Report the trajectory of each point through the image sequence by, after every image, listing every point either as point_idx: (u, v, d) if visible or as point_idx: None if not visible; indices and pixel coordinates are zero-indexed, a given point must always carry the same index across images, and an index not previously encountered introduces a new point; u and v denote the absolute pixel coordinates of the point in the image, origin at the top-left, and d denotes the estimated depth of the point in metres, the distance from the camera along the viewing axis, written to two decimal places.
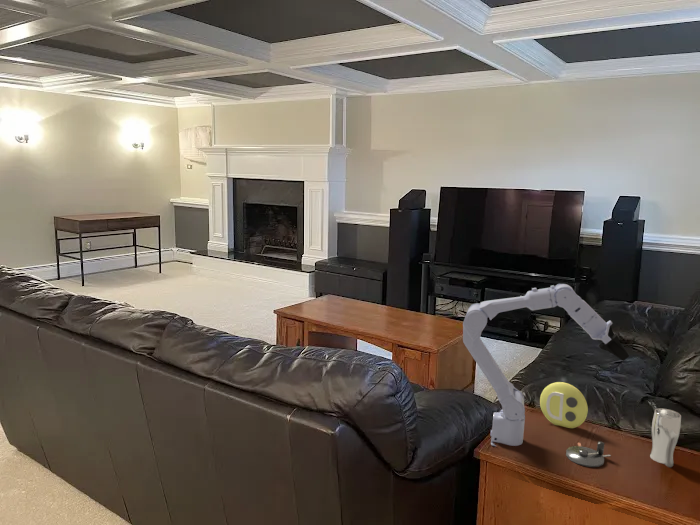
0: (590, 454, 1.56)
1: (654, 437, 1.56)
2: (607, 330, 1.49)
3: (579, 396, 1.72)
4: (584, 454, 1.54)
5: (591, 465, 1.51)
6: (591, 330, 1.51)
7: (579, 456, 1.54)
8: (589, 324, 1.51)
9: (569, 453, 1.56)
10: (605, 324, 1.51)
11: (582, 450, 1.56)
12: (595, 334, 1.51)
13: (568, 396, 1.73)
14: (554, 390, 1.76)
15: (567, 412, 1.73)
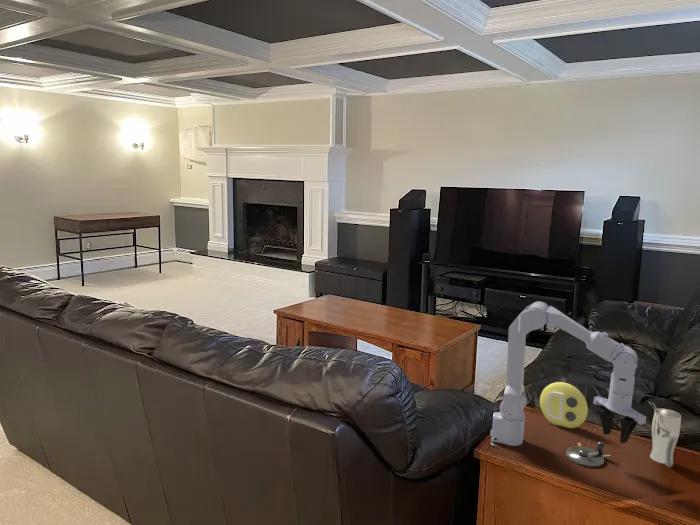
0: (590, 454, 1.56)
1: (654, 437, 1.56)
2: None
3: (579, 396, 1.72)
4: (584, 454, 1.54)
5: (591, 465, 1.51)
6: (625, 404, 1.46)
7: (579, 456, 1.54)
8: (628, 398, 1.46)
9: (569, 453, 1.56)
10: None
11: (582, 450, 1.56)
12: (624, 409, 1.46)
13: (568, 396, 1.73)
14: (554, 390, 1.76)
15: (567, 412, 1.73)
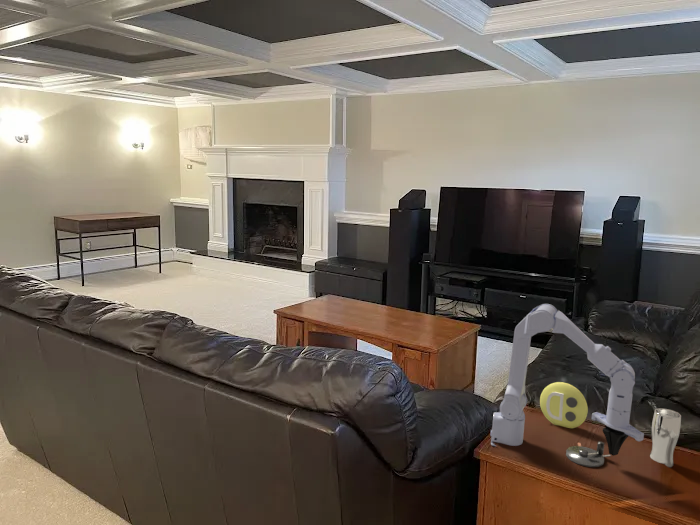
0: (590, 454, 1.56)
1: (654, 437, 1.56)
2: None
3: (579, 396, 1.72)
4: (584, 454, 1.54)
5: (591, 465, 1.51)
6: (623, 421, 1.47)
7: (579, 456, 1.54)
8: (626, 415, 1.47)
9: (569, 453, 1.56)
10: None
11: (582, 450, 1.56)
12: (622, 426, 1.47)
13: (568, 396, 1.73)
14: (554, 390, 1.76)
15: (567, 412, 1.73)
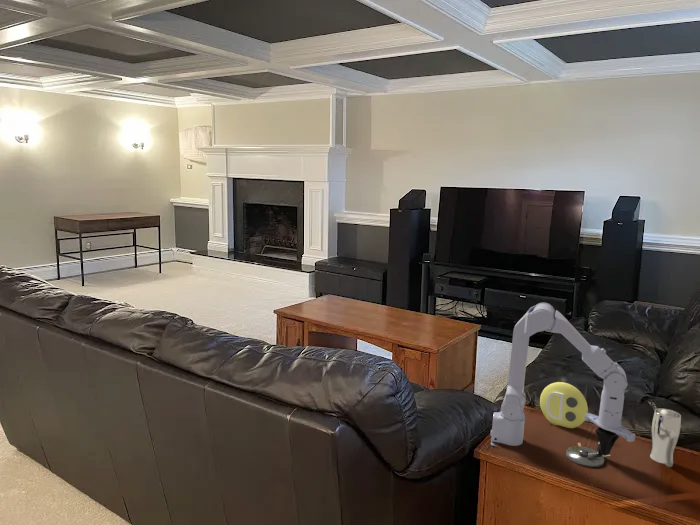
0: (590, 454, 1.56)
1: (654, 437, 1.56)
2: None
3: (579, 396, 1.72)
4: (584, 454, 1.54)
5: (591, 465, 1.51)
6: (615, 422, 1.50)
7: (579, 456, 1.54)
8: (618, 416, 1.50)
9: (569, 453, 1.56)
10: None
11: (582, 450, 1.56)
12: (614, 427, 1.50)
13: (568, 396, 1.73)
14: (554, 390, 1.76)
15: (567, 412, 1.73)
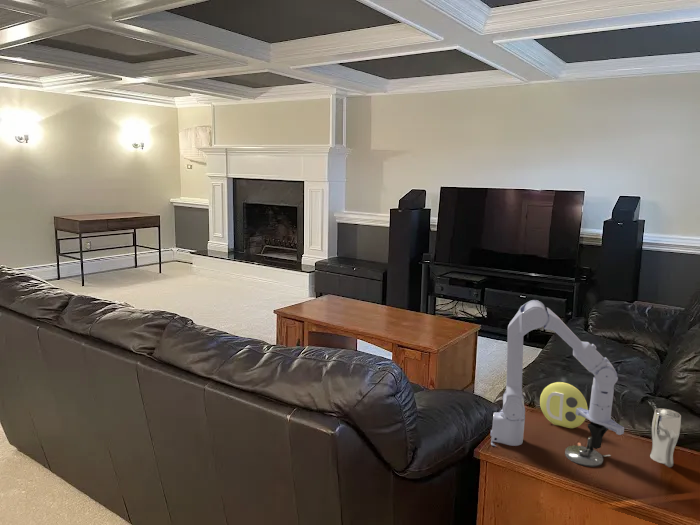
0: None
1: (654, 437, 1.56)
2: None
3: (579, 396, 1.72)
4: (586, 454, 1.54)
5: (599, 463, 1.52)
6: (604, 415, 1.54)
7: (583, 457, 1.54)
8: (607, 409, 1.54)
9: (573, 457, 1.54)
10: None
11: (581, 450, 1.56)
12: (604, 420, 1.54)
13: (568, 396, 1.73)
14: (554, 390, 1.76)
15: (567, 412, 1.73)
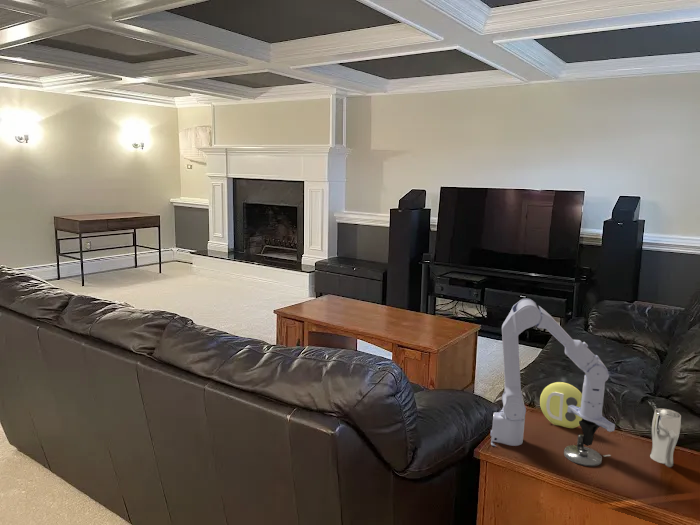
0: None
1: (654, 437, 1.56)
2: None
3: (579, 396, 1.72)
4: (587, 453, 1.55)
5: (601, 460, 1.54)
6: (595, 412, 1.55)
7: (586, 458, 1.54)
8: (598, 407, 1.55)
9: (580, 460, 1.52)
10: None
11: (581, 450, 1.55)
12: (595, 417, 1.56)
13: (568, 396, 1.73)
14: (554, 390, 1.76)
15: (567, 412, 1.73)
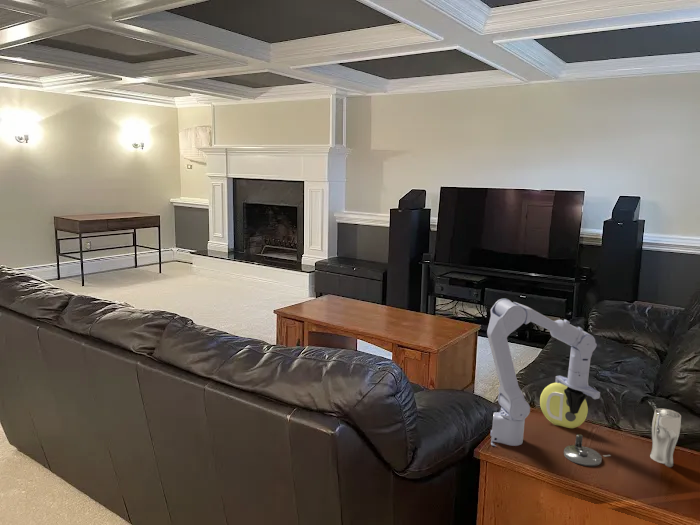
0: None
1: (654, 437, 1.56)
2: None
3: None
4: (587, 453, 1.55)
5: (601, 459, 1.54)
6: (582, 381, 1.62)
7: (587, 458, 1.54)
8: (584, 376, 1.62)
9: (581, 460, 1.52)
10: None
11: (581, 450, 1.55)
12: (581, 386, 1.62)
13: None
14: (554, 390, 1.76)
15: (567, 412, 1.73)
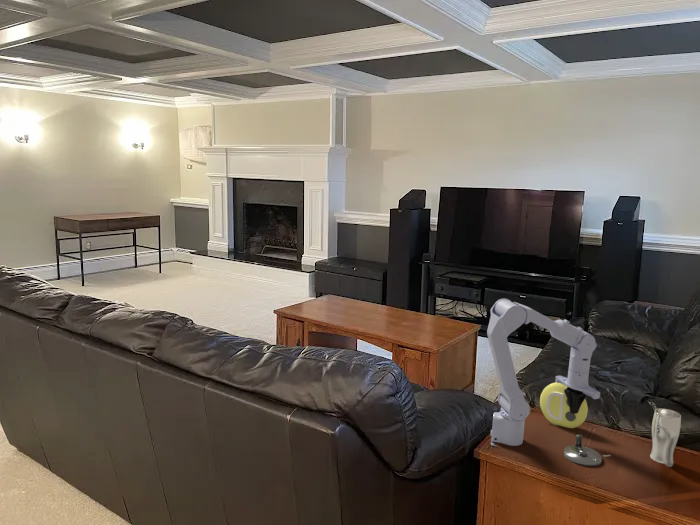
0: None
1: (654, 437, 1.56)
2: None
3: None
4: (587, 453, 1.55)
5: (601, 459, 1.54)
6: (582, 381, 1.62)
7: (587, 458, 1.54)
8: (584, 376, 1.62)
9: (581, 460, 1.52)
10: None
11: (581, 450, 1.55)
12: (581, 386, 1.62)
13: None
14: (554, 390, 1.76)
15: (567, 412, 1.73)
